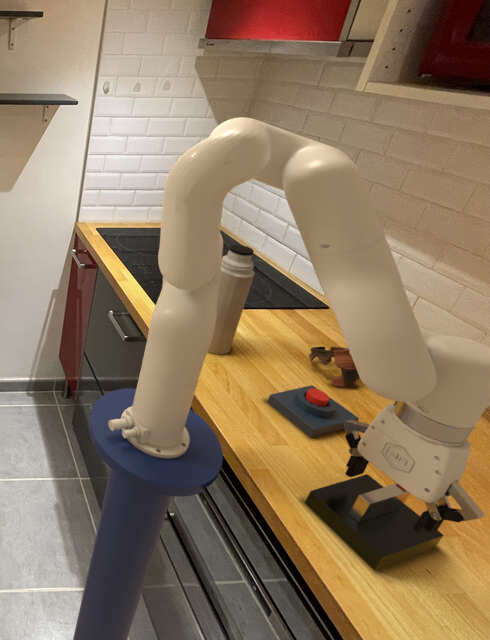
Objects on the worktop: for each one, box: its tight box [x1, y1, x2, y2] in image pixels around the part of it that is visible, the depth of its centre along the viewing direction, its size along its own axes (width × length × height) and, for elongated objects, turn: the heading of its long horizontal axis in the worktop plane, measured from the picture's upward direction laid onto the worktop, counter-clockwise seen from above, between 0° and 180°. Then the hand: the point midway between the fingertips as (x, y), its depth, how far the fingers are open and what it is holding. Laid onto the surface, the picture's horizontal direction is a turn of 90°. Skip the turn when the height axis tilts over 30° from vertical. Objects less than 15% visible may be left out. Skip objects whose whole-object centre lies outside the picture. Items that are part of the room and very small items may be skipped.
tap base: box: [304, 473, 445, 571], centre depth 72 cm, size 13×11×3 cm
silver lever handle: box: [349, 482, 411, 523], centre depth 71 cm, size 9×2×5 cm, turn 105°
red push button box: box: [267, 384, 360, 438], centre depth 94 cm, size 12×10×4 cm
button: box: [305, 388, 330, 407], centre depth 93 cm, size 4×4×2 cm
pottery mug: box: [308, 346, 360, 388], centre depth 106 cm, size 12×10×8 cm
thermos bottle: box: [207, 244, 255, 355], centre depth 111 cm, size 8×8×28 cm
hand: (385, 500), depth 70 cm, fingers open, 9 cm apart
